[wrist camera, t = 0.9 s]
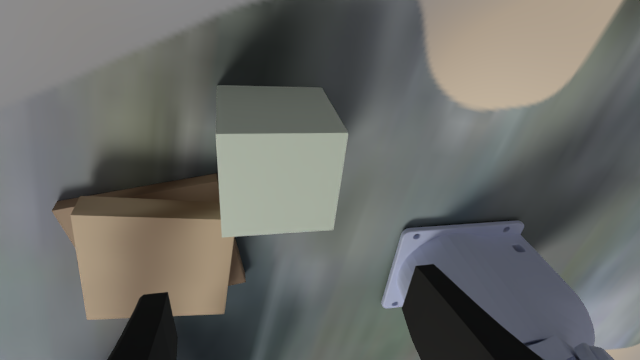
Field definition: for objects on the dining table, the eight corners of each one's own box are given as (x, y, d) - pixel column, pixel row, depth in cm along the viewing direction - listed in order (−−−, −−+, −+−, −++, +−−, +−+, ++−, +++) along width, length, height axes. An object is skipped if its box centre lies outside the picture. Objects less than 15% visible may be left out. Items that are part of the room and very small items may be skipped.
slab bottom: (217, 165, 21) (216, 181, 20) (244, 264, 25) (245, 282, 24) (62, 193, 20) (51, 210, 18) (120, 290, 24) (114, 310, 23)
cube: (321, 86, 19) (348, 133, 15) (312, 171, 21) (333, 229, 17) (216, 84, 18) (215, 134, 14) (221, 174, 20) (221, 237, 16)
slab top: (235, 202, 21) (236, 220, 19) (223, 294, 24) (224, 314, 23) (80, 195, 18) (70, 215, 17) (94, 298, 22) (87, 319, 21)
